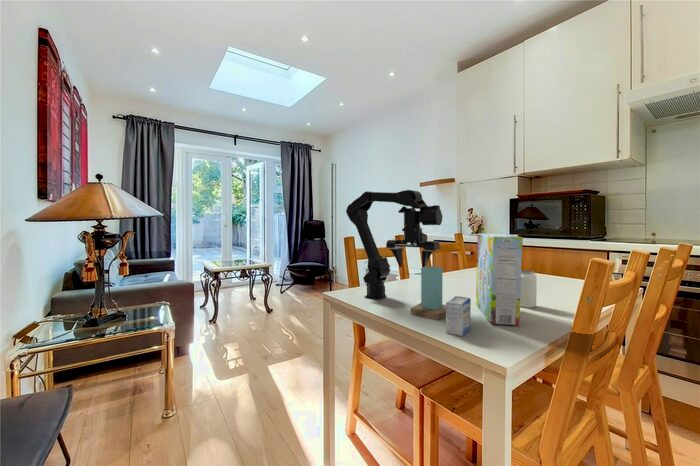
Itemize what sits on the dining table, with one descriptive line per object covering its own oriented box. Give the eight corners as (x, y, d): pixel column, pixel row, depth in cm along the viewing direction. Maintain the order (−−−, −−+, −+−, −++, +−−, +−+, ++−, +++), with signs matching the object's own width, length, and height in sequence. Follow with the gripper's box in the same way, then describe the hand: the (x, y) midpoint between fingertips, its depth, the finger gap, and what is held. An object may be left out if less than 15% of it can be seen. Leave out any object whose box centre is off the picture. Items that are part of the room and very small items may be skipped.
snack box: (523, 327, 84) (524, 236, 83) (490, 325, 86) (491, 236, 85) (500, 305, 106) (501, 232, 104) (474, 304, 107) (475, 232, 106)
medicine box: (462, 336, 78) (462, 304, 78) (445, 333, 81) (445, 301, 80) (470, 328, 84) (471, 297, 84) (455, 324, 87) (455, 295, 87)
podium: (410, 313, 97) (410, 307, 97) (424, 306, 105) (424, 301, 105) (440, 320, 91) (440, 313, 91) (452, 312, 98) (452, 306, 98)
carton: (421, 307, 97) (421, 267, 97) (428, 304, 101) (428, 265, 101) (435, 310, 94) (435, 269, 94) (442, 306, 98) (442, 267, 97)
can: (540, 308, 101) (541, 273, 101) (521, 308, 102) (521, 273, 101) (529, 303, 108) (529, 270, 107) (511, 303, 108) (511, 270, 107)
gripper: (445, 224, 108) (445, 267, 109) (399, 224, 119) (400, 263, 120) (433, 225, 99) (433, 272, 100) (385, 225, 111) (385, 267, 111)
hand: (412, 268), depth 108 cm, fingers open, 9 cm apart
